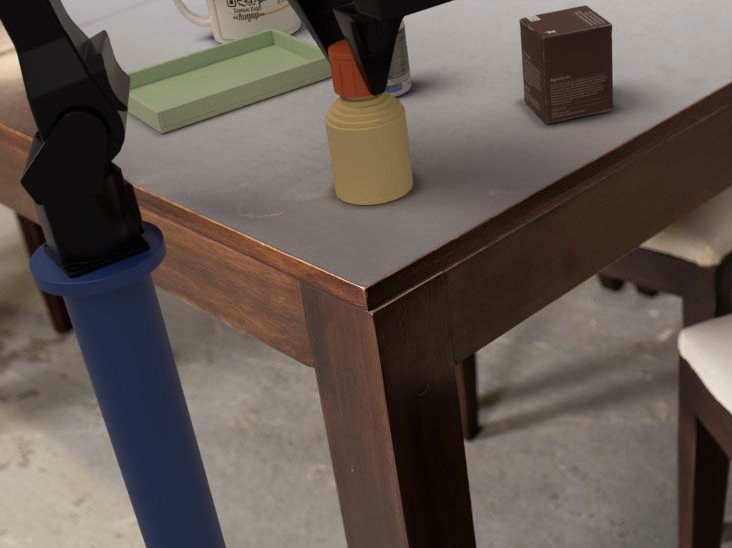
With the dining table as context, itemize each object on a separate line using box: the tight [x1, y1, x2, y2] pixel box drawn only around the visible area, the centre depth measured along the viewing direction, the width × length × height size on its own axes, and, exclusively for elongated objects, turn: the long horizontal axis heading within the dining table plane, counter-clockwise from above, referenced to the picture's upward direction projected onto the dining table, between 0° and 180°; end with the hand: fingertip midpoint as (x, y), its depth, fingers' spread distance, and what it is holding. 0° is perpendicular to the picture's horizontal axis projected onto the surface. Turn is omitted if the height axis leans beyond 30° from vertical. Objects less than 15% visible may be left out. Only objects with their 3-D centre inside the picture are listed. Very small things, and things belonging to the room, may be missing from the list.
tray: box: [125, 28, 332, 135], centre depth 108 cm, size 19×13×2 cm
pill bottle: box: [385, 19, 412, 98], centre depth 100 cm, size 5×5×8 cm
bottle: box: [324, 91, 414, 206], centre depth 82 cm, size 6×6×10 cm
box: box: [518, 5, 614, 124], centre depth 91 cm, size 6×6×7 cm
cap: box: [328, 39, 388, 97], centre depth 80 cm, size 4×4×3 cm
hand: (363, 87), depth 81 cm, fingers closed on cap, 4 cm apart
